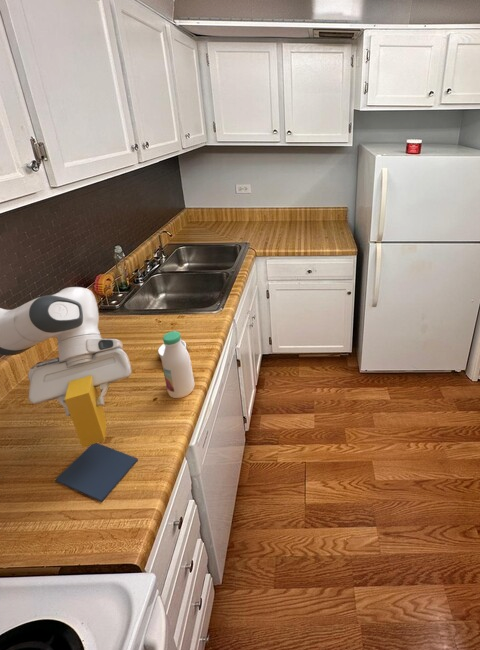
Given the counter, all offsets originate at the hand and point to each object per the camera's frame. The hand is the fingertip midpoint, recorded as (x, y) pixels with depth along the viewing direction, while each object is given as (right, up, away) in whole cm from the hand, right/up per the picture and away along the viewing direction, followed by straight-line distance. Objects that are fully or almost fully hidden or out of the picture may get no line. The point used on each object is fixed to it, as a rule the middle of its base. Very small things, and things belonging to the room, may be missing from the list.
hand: (86, 410), depth 77 cm
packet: (0, -8, +4) cm, 8 cm away
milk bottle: (+12, -6, +24) cm, 28 cm away
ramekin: (+4, 0, +38) cm, 38 cm away
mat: (+2, -15, +1) cm, 15 cm away
